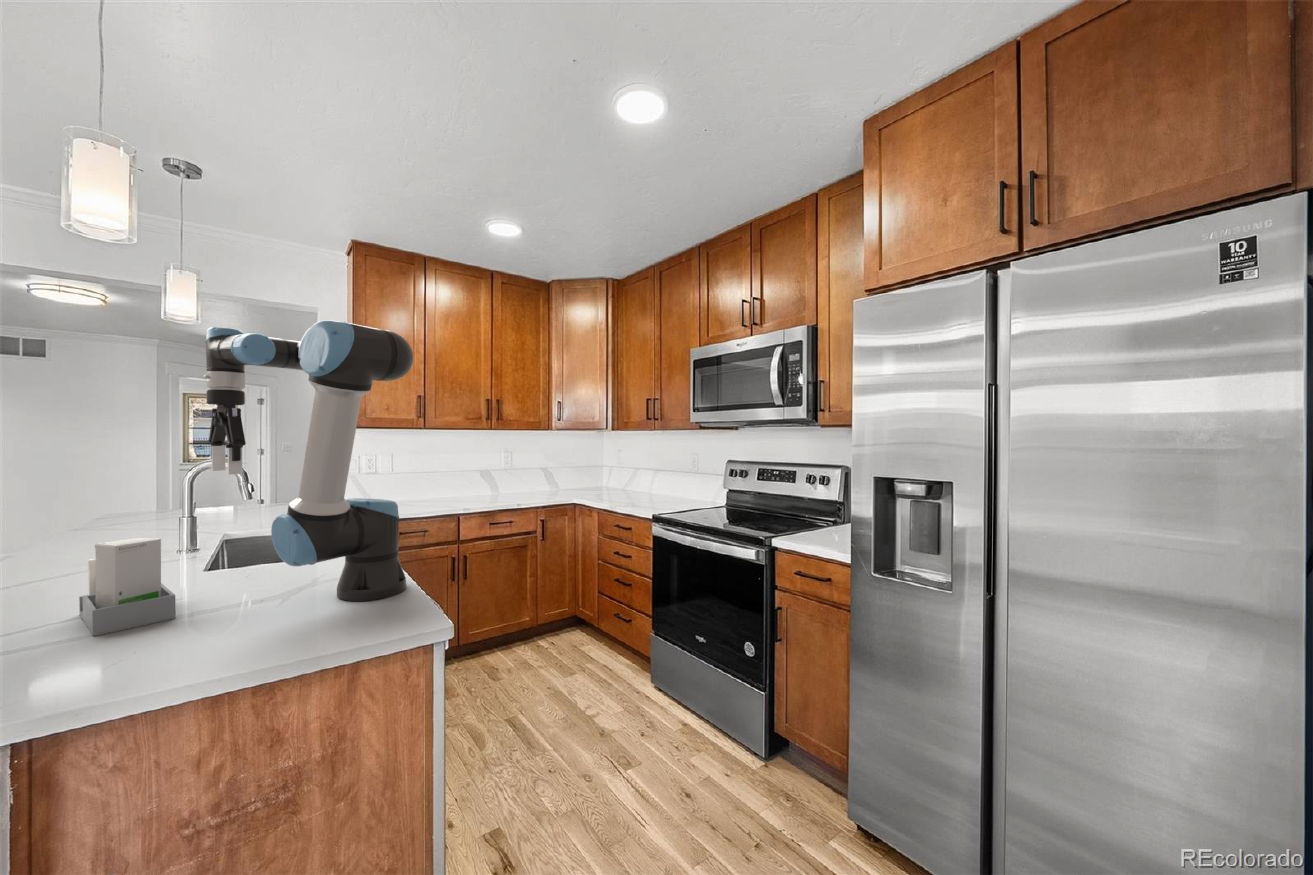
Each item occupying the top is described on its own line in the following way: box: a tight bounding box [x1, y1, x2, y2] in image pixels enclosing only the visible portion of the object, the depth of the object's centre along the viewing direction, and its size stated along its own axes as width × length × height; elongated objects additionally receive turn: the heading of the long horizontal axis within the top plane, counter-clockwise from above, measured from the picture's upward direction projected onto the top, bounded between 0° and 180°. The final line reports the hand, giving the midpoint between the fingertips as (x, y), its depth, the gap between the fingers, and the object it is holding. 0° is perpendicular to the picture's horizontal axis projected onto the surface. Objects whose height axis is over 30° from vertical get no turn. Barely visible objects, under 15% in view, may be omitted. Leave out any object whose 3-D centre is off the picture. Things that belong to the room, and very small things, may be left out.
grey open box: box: [78, 558, 176, 637], centre depth 111 cm, size 18×12×12 cm, turn 53°
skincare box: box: [94, 536, 162, 609], centre depth 110 cm, size 8×7×16 cm
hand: (226, 472), depth 133 cm, fingers open, 13 cm apart
